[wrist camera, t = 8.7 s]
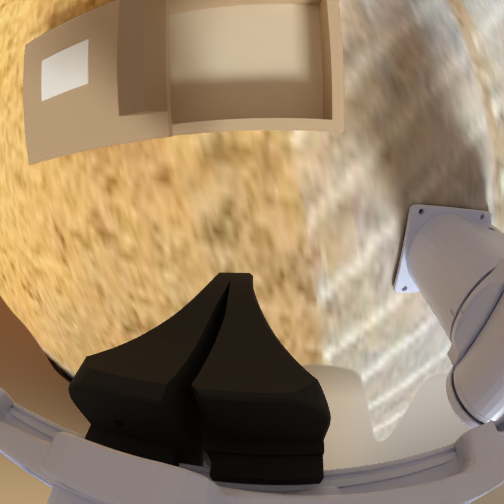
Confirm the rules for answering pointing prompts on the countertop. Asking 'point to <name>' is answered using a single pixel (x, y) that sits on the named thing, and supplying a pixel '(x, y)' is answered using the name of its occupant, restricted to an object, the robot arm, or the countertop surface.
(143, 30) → the lid
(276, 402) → the robot arm
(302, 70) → the mailer
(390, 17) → the countertop surface
